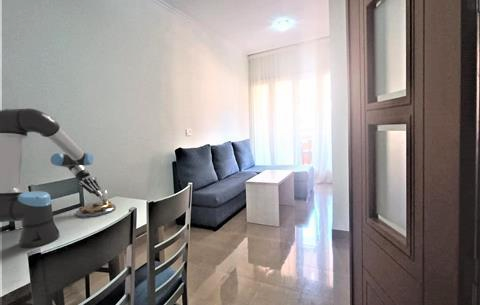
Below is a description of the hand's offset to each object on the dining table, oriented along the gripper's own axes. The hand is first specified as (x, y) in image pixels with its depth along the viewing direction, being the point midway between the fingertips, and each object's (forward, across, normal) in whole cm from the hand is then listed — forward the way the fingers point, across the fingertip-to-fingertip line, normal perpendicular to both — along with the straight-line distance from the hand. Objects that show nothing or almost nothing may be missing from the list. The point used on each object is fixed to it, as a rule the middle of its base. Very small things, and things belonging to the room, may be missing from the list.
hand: (103, 199), depth 164 cm
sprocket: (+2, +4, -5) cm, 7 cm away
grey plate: (+4, +4, -6) cm, 8 cm away
